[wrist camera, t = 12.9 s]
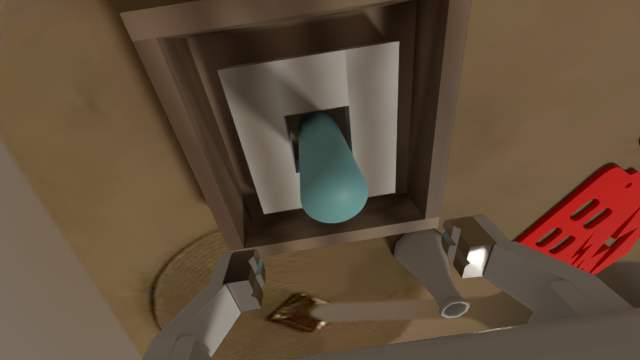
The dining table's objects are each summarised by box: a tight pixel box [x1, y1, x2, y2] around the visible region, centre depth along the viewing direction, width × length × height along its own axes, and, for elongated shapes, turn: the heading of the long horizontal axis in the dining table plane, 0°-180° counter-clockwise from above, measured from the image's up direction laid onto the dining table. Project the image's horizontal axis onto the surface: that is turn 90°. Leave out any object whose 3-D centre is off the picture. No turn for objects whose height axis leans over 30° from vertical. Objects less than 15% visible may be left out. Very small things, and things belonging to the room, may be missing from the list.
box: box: [119, 0, 472, 257], centre depth 23 cm, size 22×22×6 cm
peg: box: [298, 111, 368, 223], centre depth 19 cm, size 4×4×12 cm
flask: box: [394, 229, 470, 318], centre depth 31 cm, size 7×7×10 cm
